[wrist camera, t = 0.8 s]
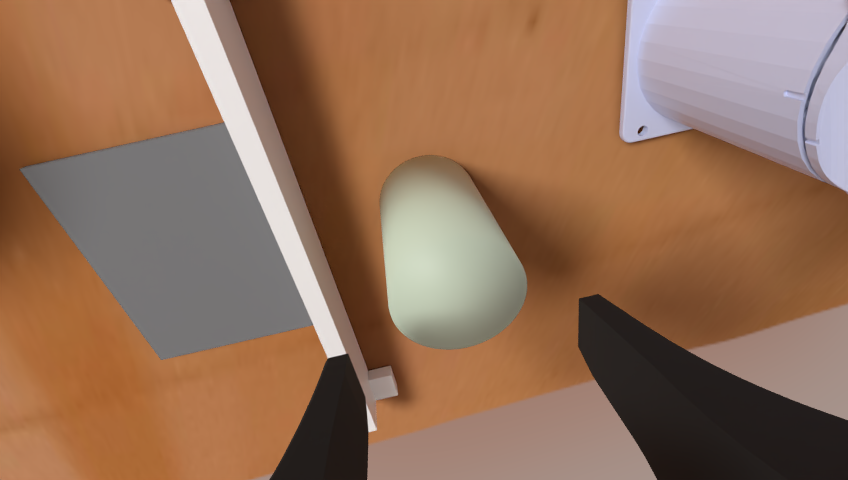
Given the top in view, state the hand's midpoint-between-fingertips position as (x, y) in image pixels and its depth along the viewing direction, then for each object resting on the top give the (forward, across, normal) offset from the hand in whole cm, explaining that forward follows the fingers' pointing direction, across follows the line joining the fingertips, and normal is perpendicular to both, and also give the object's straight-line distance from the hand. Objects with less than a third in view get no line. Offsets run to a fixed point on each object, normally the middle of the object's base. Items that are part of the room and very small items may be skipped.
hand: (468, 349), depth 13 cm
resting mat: (+10, +12, 0) cm, 16 cm away
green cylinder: (+10, 0, 0) cm, 10 cm away
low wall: (+10, +6, 0) cm, 12 cm away
